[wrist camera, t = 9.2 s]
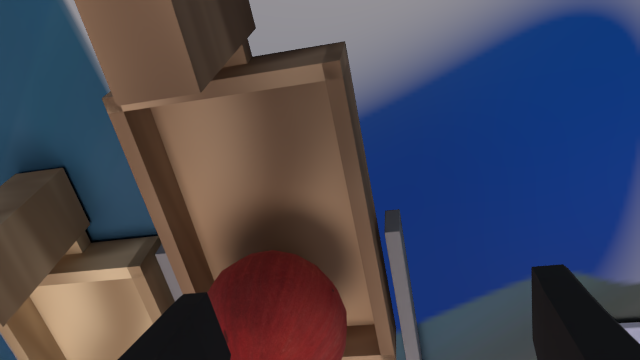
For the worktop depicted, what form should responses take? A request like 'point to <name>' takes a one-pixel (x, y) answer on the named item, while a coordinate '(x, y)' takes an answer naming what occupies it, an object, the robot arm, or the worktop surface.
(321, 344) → the onion
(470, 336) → the worktop surface
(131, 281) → the oak tray
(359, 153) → the walnut tray
